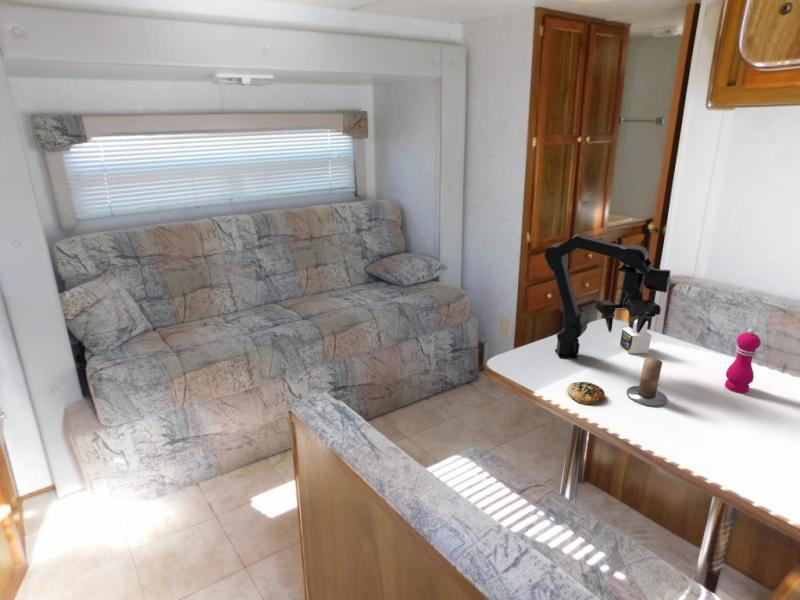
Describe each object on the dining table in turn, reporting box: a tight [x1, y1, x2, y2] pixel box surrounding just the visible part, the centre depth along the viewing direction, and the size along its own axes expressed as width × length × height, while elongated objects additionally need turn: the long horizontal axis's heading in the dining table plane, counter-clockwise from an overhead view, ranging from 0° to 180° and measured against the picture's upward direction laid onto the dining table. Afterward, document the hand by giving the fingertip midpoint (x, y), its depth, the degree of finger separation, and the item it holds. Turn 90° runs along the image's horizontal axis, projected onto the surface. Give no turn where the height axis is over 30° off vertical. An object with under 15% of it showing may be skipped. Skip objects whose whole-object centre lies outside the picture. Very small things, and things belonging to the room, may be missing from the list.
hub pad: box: [626, 385, 668, 408], centre depth 158 cm, size 11×11×1 cm
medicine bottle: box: [619, 316, 652, 355], centre depth 188 cm, size 7×7×12 cm
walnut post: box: [638, 357, 663, 399], centre depth 156 cm, size 5×5×11 cm
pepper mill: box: [724, 328, 761, 394], centre depth 161 cm, size 7×7×20 cm
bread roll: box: [566, 381, 606, 405], centre depth 158 cm, size 11×11×5 cm
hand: (623, 332), depth 172 cm, fingers open, 9 cm apart
